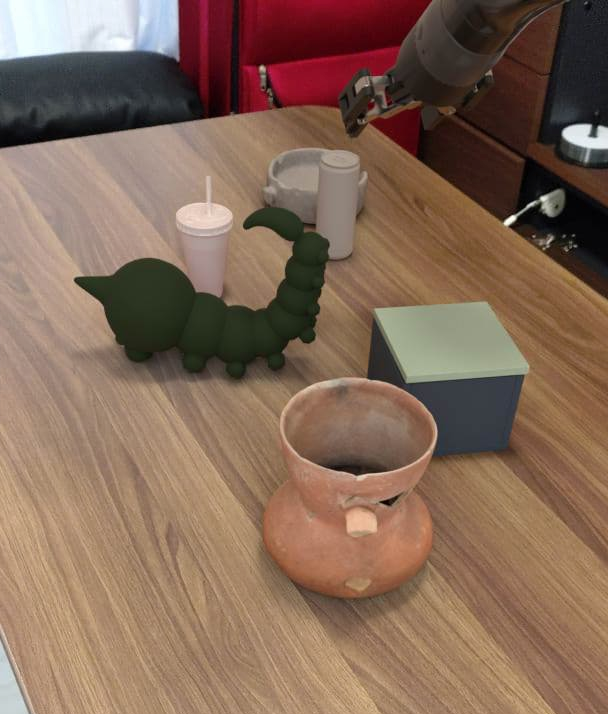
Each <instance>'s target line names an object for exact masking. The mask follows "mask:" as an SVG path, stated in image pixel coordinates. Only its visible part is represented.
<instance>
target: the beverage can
mask: <svg viewBox="0 0 608 714" xmlns="http://www.w3.org/2000/svg"><path fill="white" fill-rule="evenodd" d="M360 172H361V163H360V157H359V155H358V154H356V153H355V152H351V151H349V150H343V149H334V150H331V151H328V152H325V153H323V154H322V156H321V160H320V163H319V180H318V199H317V218H316V224H315V232H316V233H318V234H320V235H321V236H322V237H323V238H326V239H328V241H329V242H330V247H329V249H328V254H329V258H328V260H330V261H331V260H332V261H339V260H344V259H346V258H348V257H350V255H351V254H352V253H353V252H354V245H355V232H356V223H357V222H356V221H357V215H356V210H357V198H358V186H359V176H360V175H361V174H360Z"/></svg>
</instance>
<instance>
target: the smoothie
mask: <svg viewBox="0 0 608 714" xmlns="http://www.w3.org/2000/svg"><path fill="white" fill-rule="evenodd" d="M205 200H206V201H205V202H194V203H189V204H186V205H184V206H182V207H180V208H179V209H178V210H177V211H176V213H175V226H176V228H177V229H178V231H179V235H180V241H181V246H182V252H183V253H182V254H183V258H184V263H185V269H186V275H187V277H188V278H189V279H190V281H191V283H192V284H193V286H194V288H195V291H196V292H205V293H210V294H213V295H215V296H217V297H219V298H220V299H221V297H222V295H223V291H224V282H225V275H226V265H227V256H228V248H229V240H230V232H231V231H230V230H231V229H232V228H233V226H234V220H233V219H234V218H233V217H234V216H233V212H232V211H231V209H229V208H227V207H226V206H224V205H221V204H218V203H215V202H212V177H211V175H206V176H205Z"/></svg>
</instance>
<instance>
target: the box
mask: <svg viewBox="0 0 608 714" xmlns="http://www.w3.org/2000/svg"><path fill="white" fill-rule="evenodd" d="M371 325H372V326H371V336H370V345H369V351H368V352H369V353H368V363H367V372H366V379H369V380H377V381H382V382H386V383H389V384H392V385H394V386H396V387H398V388H400V389H403V390H404V391H406V392H407V393H409V394H411V395H412V396H414V397H415V398H416V399H417V400H418V401H420V402H421V403H422V404H423V405H424V406H425V407H426V408H427V410H428V411H429V412H430V413H431V415H432V416H433V418H434V421H435V423H436V426H437V441H436V445H435V448H434V451H433V454H432V457H441V456H442V457H443V456H455V455H462V454H473V453H474V454H475V453H485V452H496V451H497V452H498V451H507V450H508V447H509V442H510V438H511V434H512V430H513V426H514V422H515V417H516V414H517V409H518V405H519V401H520V396H521V392H522V389H523V384H524V380H525V376H526V374H521V375H508V376H495V377H482V378H469V379H456V380H443V381H430V382H417V383H405V380H404V378H403V376H402V374H401V372H400V370H399V368H398V366H397V364H396V362H395V360H394V358H393V355H392V353H391V351H390V349H389V347H388V345H387V343H386V341H385V339H384V337H383V335H382V333H381V330H380V328H379V326H378V324H377V322H376V320H375V318H374V316H372V324H371Z"/></svg>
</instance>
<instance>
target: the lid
mask: <svg viewBox="0 0 608 714" xmlns="http://www.w3.org/2000/svg"><path fill="white" fill-rule="evenodd" d="M372 315H373V316H372V317H374V318H375V320H376V322H377V324H378V326H379V328H380V330H381V333H382V335H383V337H384V339H385V341H386V343H387V345H388V347H389V349H390V351H391V353H392V355H393V358H394V360H395V362H396V364H397V366H398V368H399V370H400V372H401V374H402V376H403V378H404V380H405V383H417V382H430V381H443V380H456V379H469V378H482V377H495V376H508V375H521V374H524V375H529V374H530V369H531V366H530V364H529V363H528V361H527V360H526V359H525V357H524V355H523V354H522V352H521V350H520V349H519V348H518V346H517V345H516V344H515V342H514V340H513V339H512V337H511V336H510V334H509V333H508V331H507V330H506V328H505V327H504V325H503V323H502V322H501V320H500V319H499V317H498V316H497V315H496V313H495V312H494V310H493V308H492V307H491V306H490V304H489V303H488V301H473V302H472V301H471V302H456V303H440V304H426V305H425V304H423V305H409V306H407V305H406V306H393V307H377V308H373V314H372Z"/></svg>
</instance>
